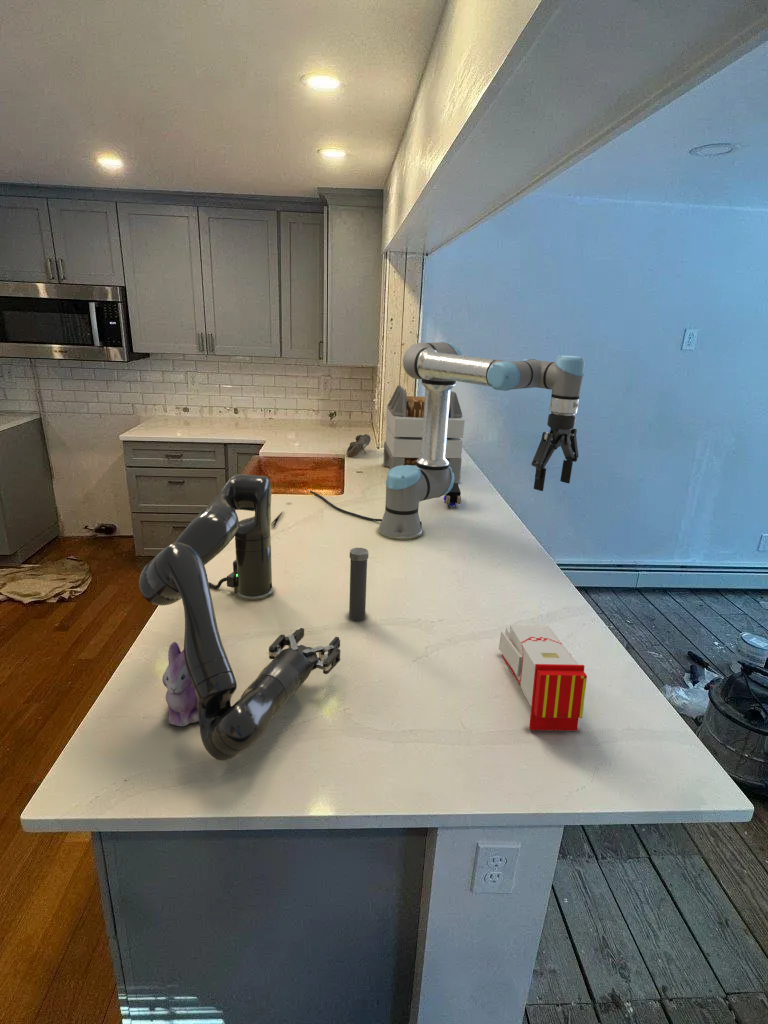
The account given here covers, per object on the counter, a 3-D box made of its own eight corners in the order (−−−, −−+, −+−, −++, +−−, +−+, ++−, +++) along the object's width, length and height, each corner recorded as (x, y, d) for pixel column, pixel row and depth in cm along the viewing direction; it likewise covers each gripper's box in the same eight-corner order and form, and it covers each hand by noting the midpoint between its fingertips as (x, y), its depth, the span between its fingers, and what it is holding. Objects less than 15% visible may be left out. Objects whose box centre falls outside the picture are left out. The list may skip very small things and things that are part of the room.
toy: (545, 610, 133) (596, 671, 104) (540, 662, 136) (588, 737, 106) (494, 609, 133) (530, 670, 103) (490, 662, 135) (524, 736, 106)
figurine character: (461, 513, 227) (456, 497, 240) (463, 496, 223) (458, 481, 237) (444, 512, 226) (440, 496, 240) (446, 495, 223) (442, 480, 237)
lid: (352, 562, 137) (352, 555, 136) (347, 554, 141) (347, 548, 140) (370, 560, 139) (371, 554, 138) (364, 552, 143) (365, 546, 142)
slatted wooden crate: (382, 463, 289) (386, 382, 275) (445, 464, 293) (451, 384, 279) (390, 482, 257) (394, 392, 243) (460, 483, 261) (468, 394, 247)
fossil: (346, 440, 316) (367, 425, 311) (357, 453, 319) (378, 438, 314) (340, 453, 296) (362, 438, 291) (351, 468, 299) (374, 452, 294)
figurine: (169, 735, 103) (162, 665, 98) (162, 702, 111) (154, 636, 106) (222, 721, 107) (218, 653, 102) (211, 689, 115) (206, 625, 110)
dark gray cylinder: (351, 621, 143) (353, 557, 137) (347, 613, 147) (348, 550, 140) (367, 619, 144) (369, 555, 138) (362, 611, 148) (364, 548, 142)
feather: (289, 506, 225) (292, 502, 225) (272, 529, 199) (275, 525, 198) (286, 503, 225) (288, 500, 225) (268, 527, 199) (271, 522, 198)
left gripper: (251, 684, 114) (291, 643, 128) (315, 703, 109) (349, 658, 124) (250, 652, 111) (291, 613, 126) (315, 670, 107) (350, 628, 121)
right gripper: (548, 419, 148) (537, 496, 155) (598, 411, 163) (586, 482, 171) (524, 414, 153) (515, 489, 160) (575, 407, 169) (564, 476, 176)
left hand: (320, 635), depth 125 cm, fingers open, 8 cm apart
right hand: (551, 486), depth 165 cm, fingers open, 13 cm apart
